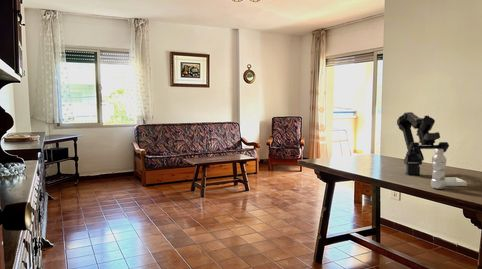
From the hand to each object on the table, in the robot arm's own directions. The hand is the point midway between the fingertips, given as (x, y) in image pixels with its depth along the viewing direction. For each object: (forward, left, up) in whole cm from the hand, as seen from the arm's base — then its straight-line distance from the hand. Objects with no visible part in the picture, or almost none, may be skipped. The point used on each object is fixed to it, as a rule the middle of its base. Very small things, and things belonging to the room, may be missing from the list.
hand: (432, 160), depth 180 cm
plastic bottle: (0, -7, -13) cm, 15 cm away
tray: (+10, +3, -13) cm, 17 cm away
